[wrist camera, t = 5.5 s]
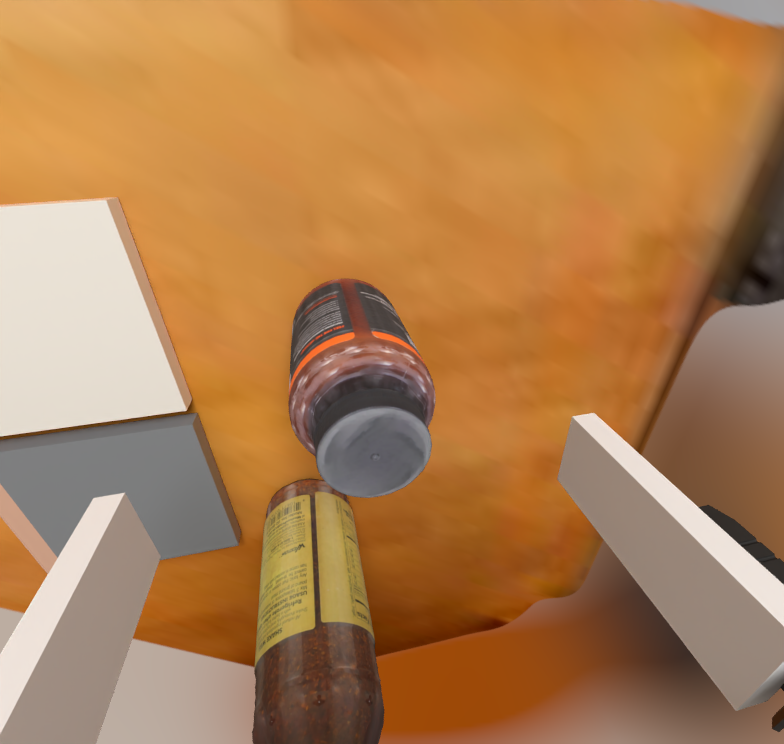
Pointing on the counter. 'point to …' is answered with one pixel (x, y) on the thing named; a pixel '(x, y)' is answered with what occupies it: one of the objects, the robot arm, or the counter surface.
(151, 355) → the cream square tile
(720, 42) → the counter surface
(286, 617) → the sauce bottle
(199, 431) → the grey square coaster
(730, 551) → the robot arm
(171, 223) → the counter surface
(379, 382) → the supplement bottle
